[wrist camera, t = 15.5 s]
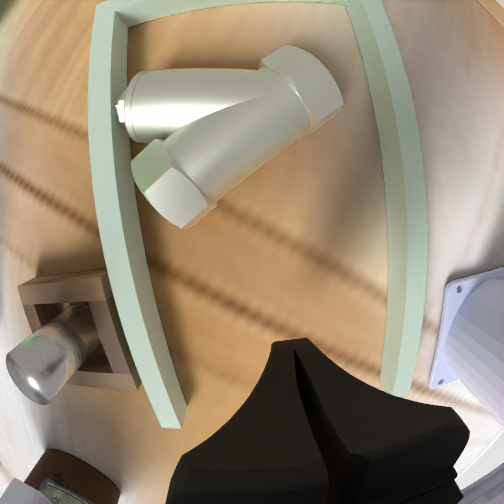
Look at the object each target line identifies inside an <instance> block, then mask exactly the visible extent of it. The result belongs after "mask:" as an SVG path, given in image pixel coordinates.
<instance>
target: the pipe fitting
mask: <svg viewBox="0 0 504 504" xmlns="http://www.w3.org/2000/svg"><path fill="white" fill-rule="evenodd" d="M343 105H344V102H343V98H342V95H341V92H340V90H339V87H338V85H337V83H336V81H335V80H334V78H333V76H332V75H331V74H330V72H329V71H328V70H327V68H326V67H325V66H324V65H323V64H322V63H321V62H320V61H319V60H318V59H317V58H316V57H315V56H313V55H312V54H310V53H309V52H307V51H305V50H303V49H301V48H298V47H295V46H291V45H284V46H283V47H281V48H279V49H277V50H276V51H274V52H272V53H271V54H269V55H267V56H266V57H264V58H262V59H261V60H260V63H259V68H258V70H249V69H230V68H183V69H165V70H152V71H141V72H139V73H137V74H136V75H135V76H134V77H133V78H132V80H131V81H130V83H129V85H128V87H127V88H126V89H125V91H124V92H123V93H122V95H121V96H120V98H118V99H117V100H116V101H115V103H114V106H113V108H114V113H115V116H117V117H119V120H120V123H121V124H123V125H125V126H126V129H127V132H128V134H129V136H130V137H131V138H132V139H133V140H134V141H135V142H139V143H150V144H149V145H148V146H147V147H145V148H144V149H143V150H142V151H141V152H140V153H139V154H138V155H137V156H136V157H135V158H134V159H133V160H132V161H131V171H132V175H133V178H134V180H135V182H136V184H137V186H138V188H139V189H140V191H141V192H142V194H143V195H144V196H145V198H146V199H147V200H148V201H149V203H150V204H151V205H152V206H153V207H154V208H155V209H156V210H157V211H158V212H159V213H160V214H161V215H162V216H163V217H164V218H165V219H166V220H168V221H169V222H170V223H171V224H173V225H174V226H176V227H178V228H180V229H187V228H190V227H192V226H194V225H195V224H196V223H198V222H199V221H200V220H201V219H202V218H204V217H205V216H206V215H207V214H208V213H209V212H211V211H212V210H213V209H214V208H216V207H217V201H218V200H220V199H221V198H222V197H223V196H224V195H226V194H227V193H228V192H229V191H231V190H232V189H233V188H234V187H236V186H237V185H238V184H239V183H241V182H242V181H243V180H244V179H246V178H247V177H248V176H249V175H251V174H252V173H253V172H254V171H256V170H257V169H258V168H260V167H261V166H262V165H264V164H265V163H266V162H267V161H269V160H270V159H271V158H273V157H274V156H275V155H277V154H278V153H279V152H281V151H282V150H283V149H285V148H286V147H287V146H289V145H290V144H292V143H293V142H294V141H296V140H297V139H298V138H300V137H301V136H303V135H304V134H305V133H307V132H308V133H310V134H311V133H313V132H314V131H316V130H317V129H318V128H320V127H321V126H323V125H324V124H326V123H327V122H328V121H330V120H331V119H333V118H334V117H335V116H336V115H337V113H338V112H339V111H340V110H341V108H342V107H343Z"/></svg>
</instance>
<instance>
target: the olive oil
mask: <svg viewBox="0 0 504 504" xmlns="http://www.w3.org/2000/svg"><path fill="white" fill-rule="evenodd" d="M24 483H25V484H27V485H29V486H31V487H32V488H34V489H36V490H37V491H39V492H40V493H42V494H43V495H44V496H45V497H46V498H47V499H48V500H49V501H50V502H51V503H52V504H118V500H119V497H120V492H119V490H118V489H117V487H116V486H115V485H114V484H113V483H112V482H111V481H110V480H109V479H108V478H107V477H105V476H104V475H103V474H101V473H100V472H99V471H97V470H96V469H94V468H93V467H91V466H90V465H88V464H86V463H85V462H83V461H81V460H79V459H77V458H75V457H73V456H71V455H69V454H67V453H64V452H62V451H59V450H54V449H49V450H46V451H45V453H44V454H43V455H42V457H41V458H40V460H39V461H38V462H37V464H36V465H35V467H34V468H33V470H32V471H31V473H30V474H29V476H28V477H27V479H26V480H25V481H24Z"/></svg>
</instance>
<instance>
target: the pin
mask: <svg viewBox="0 0 504 504" xmlns="http://www.w3.org/2000/svg"><path fill="white" fill-rule="evenodd" d="M100 343H101V340H100V337H99V334H98V331H97V328H96V325H95V322H94V319H93V316H92V312H91V309H90V307H89V306H88V305H85V304H83V303H75V304H73V305H71V306H70V307H69V308H67V309H66V310H64V311H63V312H62V313H60V314H59V315H57V316H56V317H55V318H53V319H52V320H51V321H49V322H48V323H47V324H45V325H44V326H42V327H41V328H40V329H38V330H37V331H36V332H35V333H33V334H32V335H31V336H29V337H28V338H27V339H25V340H24V341H23V342H21V343H20V344H19V345H18V346H16V347H15V348H14V349H13V350H11V351H10V352H9V353H8V354H7V356H6V366H7V369H8V372H9V374H10V376H11V378H12V380H13V381H14V383H15V384H16V386H17V387H18V388H19V389H20V391H21V392H22V393H23V394H24V395H25V396H27V397H28V398H29V399H31V400H32V401H34V402H36V403H38V404H41V405H46V404H48V403H49V402H50V401H51V400H52V399H53V397H54V396H55V395H56V394H57V393H58V391H59V390H60V389H61V388H62V387H63V385H64V384H65V383H66V382H67V381H68V380H69V378H70V377H71V376H72V375H73V374H74V373H75V371H76V370H77V369H78V368H79V367H80V366H81V364H82V363H83V362H84V361H85V360H86V359H87V358H88V357H89V355H90V354H91V353H92V352H93V351H94V350H95V349H96V348H97V346H98V345H99V344H100Z"/></svg>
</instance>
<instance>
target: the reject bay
mask: <svg viewBox="0 0 504 504" xmlns="http://www.w3.org/2000/svg"><path fill="white" fill-rule="evenodd" d="M276 1H301V2H322V3H335V4H344V5H345V6H346V9H347V11H348V14H349V17H350V20H351V23H352V26H353V29H354V32H355V35H356V39H357V42H358V45H359V49H360V52H361V56H362V60H363V63H364V67H365V71H366V75H367V79H368V84H369V88H370V93H371V97H372V102H373V107H374V112H375V118H376V123H377V129H378V136H379V142H380V149H381V157H382V165H383V174H384V184H385V195H386V209H387V228H388V294H387V314H386V328H385V339H384V349H383V358H382V366H381V373H380V380H379V381H380V382H381V384H382V386H383V387H384V389H385V390H386V392H387V393H389V394H392V395H394V396H397V397H402V396H405V395H408V394H409V391H410V387H411V383H412V379H413V374H414V369H415V364H416V359H417V354H418V348H419V342H420V336H421V329H422V321H423V313H424V304H425V293H426V279H427V259H428V216H427V195H426V182H425V171H424V162H423V154H422V146H421V140H420V133H419V127H418V122H417V116H416V111H415V107H414V102H413V97H412V93H411V89H410V85H409V81H408V77H407V73H406V70H405V66H404V63H403V59H402V56H401V53H400V50H399V47H398V44H397V41H396V38H395V35H394V32H393V29H392V27H391V24H390V21H389V19H388V16H387V14H386V11H385V9H384V6H383V4H382V2H381V0H107V1H104V2H102V3H99V4H97V5H96V11H95V17H94V24H93V31H92V39H91V49H90V61H89V79H88V133H89V152H90V165H91V175H92V185H93V193H94V201H95V208H96V215H97V221H98V227H99V233H100V238H101V243H102V248H103V253H104V258H105V263H106V267H107V272H108V276H109V280H110V284H111V288H112V292H113V296H114V299H115V303H116V307H117V310H118V314H119V317H120V320H121V324H122V327H123V330H124V333H125V336H126V339H127V342H128V345H129V348H130V351H131V354H132V357H133V360H134V362H135V365H136V368H137V371H138V373H139V376H140V378H141V381H142V383H143V386H144V388H145V391H146V393H147V396H148V398H149V400H150V403H151V405H152V407H153V410H154V412H155V414H156V416H157V418H158V421H159V423H160V425H161V427H162V428H182V424H183V420H184V416H185V413H186V409H187V405H186V402H185V399H184V396H183V393H182V390H181V387H180V384H179V381H178V378H177V375H176V372H175V369H174V366H173V363H172V359H171V356H170V353H169V349H168V346H167V342H166V339H165V335H164V332H163V328H162V324H161V320H160V316H159V313H158V309H157V304H156V300H155V296H154V292H153V288H152V283H151V279H150V274H149V269H148V264H147V259H146V254H145V249H144V244H143V238H142V233H141V227H140V221H139V214H138V208H137V201H136V193H135V186H134V178H133V175H132V171H131V161H132V159H131V148H130V136H129V134H128V132H127V129H126V126H125V125H123V124H121V123H120V120H119V117H117V116H115V113H114V108H113V106H114V103H115V101H116V100H117V99H118V98H120V96H121V95H122V93H123V92H124V91H125V89H126V88H127V45H128V28H129V27H132V26H135V25H138V24H141V23H144V22H148V21H151V20H155V19H158V18H162V17H166V16H170V15H174V14H179V13H183V12H188V11H193V10H199V9H204V8H210V7H217V6H224V5H232V4H242V3H255V2H276Z"/></svg>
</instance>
